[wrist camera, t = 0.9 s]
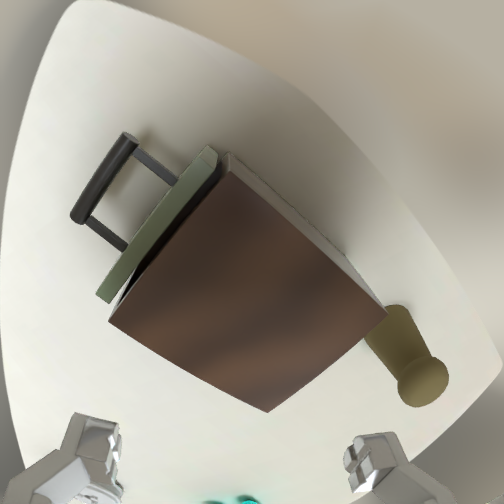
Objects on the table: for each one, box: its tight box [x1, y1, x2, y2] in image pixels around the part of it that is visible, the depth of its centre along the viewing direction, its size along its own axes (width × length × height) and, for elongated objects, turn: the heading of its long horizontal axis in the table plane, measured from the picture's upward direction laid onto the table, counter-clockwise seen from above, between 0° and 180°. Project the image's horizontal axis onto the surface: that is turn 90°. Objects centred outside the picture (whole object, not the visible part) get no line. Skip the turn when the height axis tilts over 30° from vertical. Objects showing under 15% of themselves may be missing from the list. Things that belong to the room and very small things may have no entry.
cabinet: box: [108, 152, 389, 413], centre depth 25 cm, size 15×13×10 cm
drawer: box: [70, 132, 221, 304], centre depth 23 cm, size 18×11×8 cm, turn 48°
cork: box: [364, 305, 449, 407], centre depth 29 cm, size 6×6×11 cm
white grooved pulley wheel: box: [74, 480, 123, 504], centre depth 44 cm, size 13×13×5 cm
